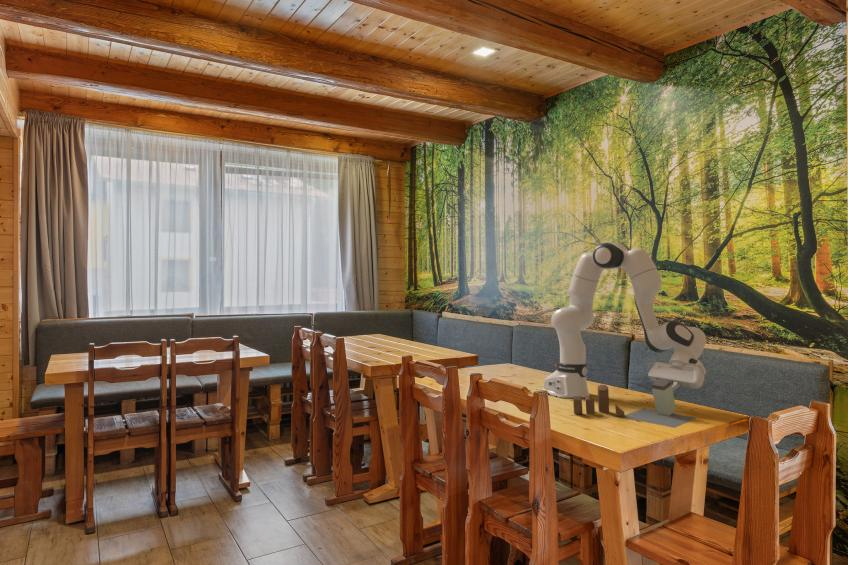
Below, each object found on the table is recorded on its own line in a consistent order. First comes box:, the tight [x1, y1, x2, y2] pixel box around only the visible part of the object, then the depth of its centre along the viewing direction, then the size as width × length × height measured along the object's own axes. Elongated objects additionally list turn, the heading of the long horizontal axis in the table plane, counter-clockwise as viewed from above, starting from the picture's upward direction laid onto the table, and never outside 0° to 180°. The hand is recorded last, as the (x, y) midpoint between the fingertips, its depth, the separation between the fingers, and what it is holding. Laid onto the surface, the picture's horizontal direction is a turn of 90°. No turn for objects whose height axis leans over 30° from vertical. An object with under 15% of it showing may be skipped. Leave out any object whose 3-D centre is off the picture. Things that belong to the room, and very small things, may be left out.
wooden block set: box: [572, 384, 626, 417], centre depth 208 cm, size 18×9×10 cm, turn 76°
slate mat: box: [619, 407, 698, 428], centre depth 203 cm, size 20×20×1 cm
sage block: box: [650, 379, 677, 416], centre depth 207 cm, size 5×5×12 cm
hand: (667, 392), depth 208 cm, fingers closed
